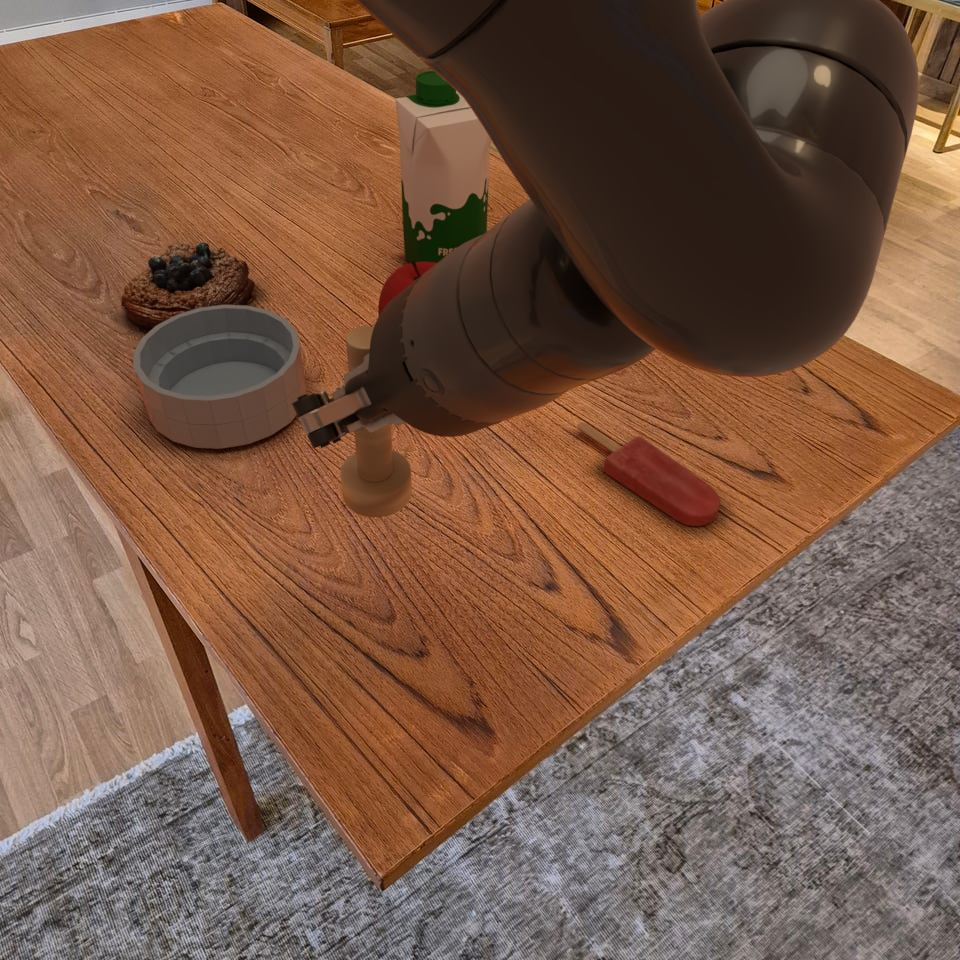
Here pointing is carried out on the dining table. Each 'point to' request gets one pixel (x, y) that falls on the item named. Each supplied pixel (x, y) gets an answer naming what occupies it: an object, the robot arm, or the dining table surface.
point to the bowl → (220, 375)
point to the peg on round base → (373, 456)
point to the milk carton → (441, 170)
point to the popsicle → (658, 479)
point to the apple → (401, 281)
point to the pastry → (186, 284)
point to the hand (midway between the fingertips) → (353, 410)
